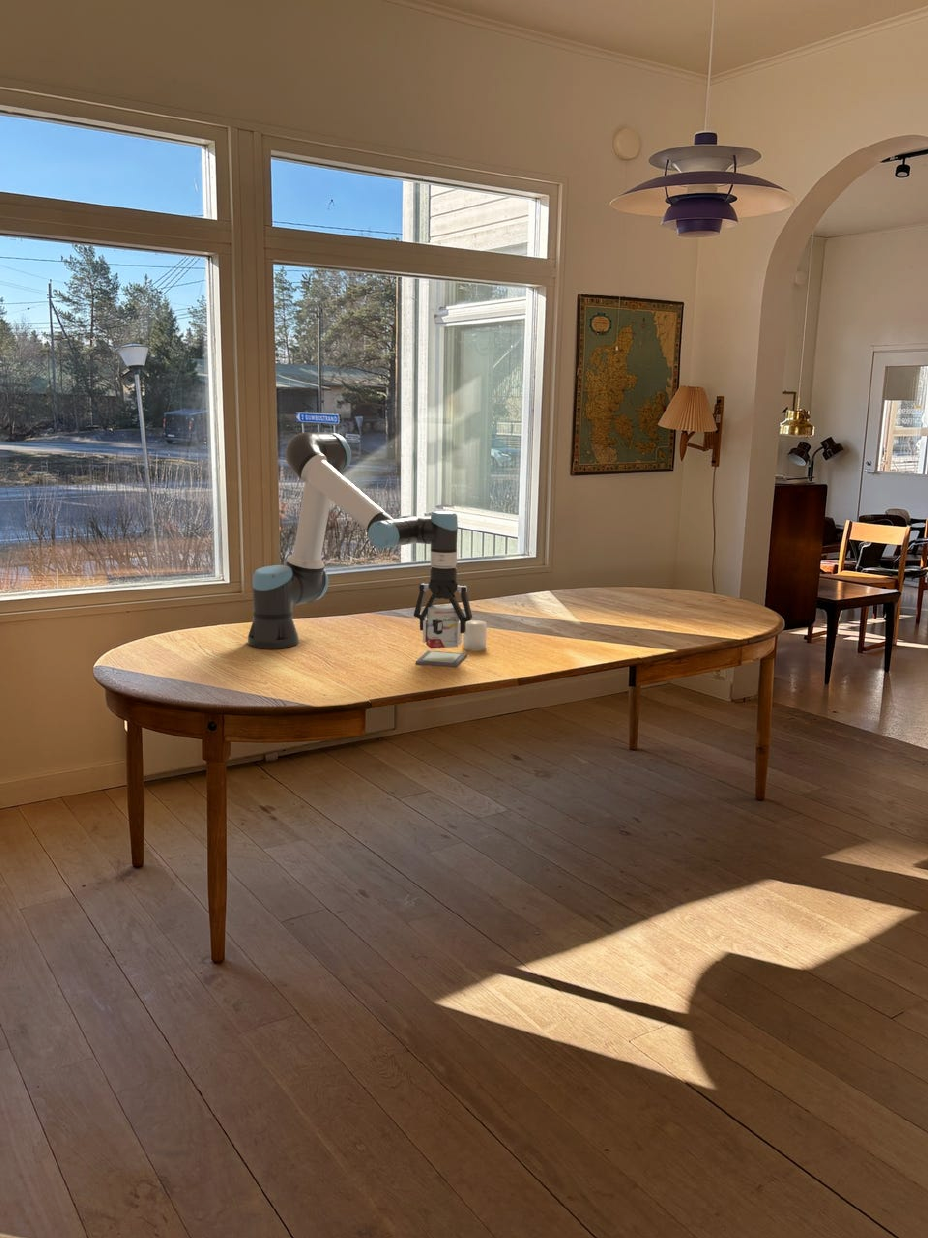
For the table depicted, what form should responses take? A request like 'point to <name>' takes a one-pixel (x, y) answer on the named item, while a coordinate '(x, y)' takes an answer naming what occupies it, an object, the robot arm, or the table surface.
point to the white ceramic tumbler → (475, 635)
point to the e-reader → (441, 658)
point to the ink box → (442, 626)
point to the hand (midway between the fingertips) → (442, 642)
